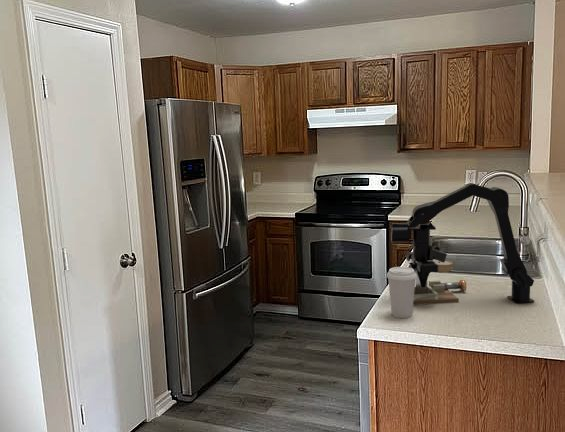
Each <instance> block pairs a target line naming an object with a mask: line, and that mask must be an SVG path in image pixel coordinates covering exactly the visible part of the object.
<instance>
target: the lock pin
mask: <svg viewBox="0 0 565 432" xmlns="http://www.w3.org/2000/svg"><path fill="white" fill-rule="evenodd" d="M439 284H444V285H445V290H446V289H448V290H460V291H461V292H465V291H467V286H468V285H467V281H466V280H465V279H459V281H458V282H456V281H455V282H441V283H439Z"/></svg>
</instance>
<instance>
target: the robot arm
mask: <svg viewBox="0 0 565 432" xmlns="http://www.w3.org/2000/svg"><path fill="white" fill-rule="evenodd" d="M470 197H477V198H481V199H483V200H486V201H487V204H488V205H489V207H490V209H491V211H492V212H493V214H494V216H495V217H494V218H495V221H496V226H497V231H498V233H499V239H500V243H501V246H502V250H503V258H499V261H500V264H501V270H502V271H503V272H504V273H505V274H506V275H507V276H508V277H509V278H510V279H509V280H511V295H507V297H506V298H507V299H509V300H510V301H512V302H513V303H515V304H523V303H524V304H527V303H529V304H530V303H534V302H535V300H534V299H532V298H531V287H533V285H534V283H535V280H534V279H533V278H532V277H531V276H530V275H529V274H528V271H527V267H526V265H525V263H524V262H523V260H522V258H521V256H520V254H519V252H518V249H517V244H516V241H515V237H514V233H513V228H512V225H511V221H510V220H511V219H510V215H509V205H510V201H509V194H508V192H507V191H506V190H504V189H503V188H500V187H498V186H491V187H490V188H489V187H486V186H483V185H479V184H476V183H474V182H469V183H466V184H465V185H464V186H461V187H460V188H458V189H456V190H454V191H452V192H450V193H448V194H446V195H444V196H442V197H440V198H438V199H435V200H434V201H430V202H429V201H428V202H425V203H421V204H419V205H417V206H415V207H413V209H412V211H411V216H410V217H409V218H408V220H407V221H406V222H401V223H399V222H392V223H391V231H390V240H391V241H390V242H391V243H409V241H410V240H412V243H411V246H410V247H411V248H412V251H408V252H407V253H406V255H405V259H406V261H407V262H408V264H409V266H410V268H412V269H414V271H415V273H417V275H418V278H419V281H420V284H421V286H422V287H425V286H426V282H427V283H428V278H429V275H430V274H431V273H439V272H438V265H437V264H436V263H435V262H433V259H435V260H438V261H441V262H443V263H444V262H445V259H446V258H447V256H448V253H446V252H444V251H443V250H441V247H439V246H437V245H431V230H435V231H436V229H437V227H436V226H435V225H433V223H432V221H431V220H433V219H434V218H436V216H438V215H439V214H440V213H441V212H442V211H445V210H447V209H449V208H451V207H452V206H455V205H457V204H459V203H461V202H463V201H465V200H467V199H469V198H470ZM446 260H447V259H446ZM416 268H417V269H416Z"/></svg>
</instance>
